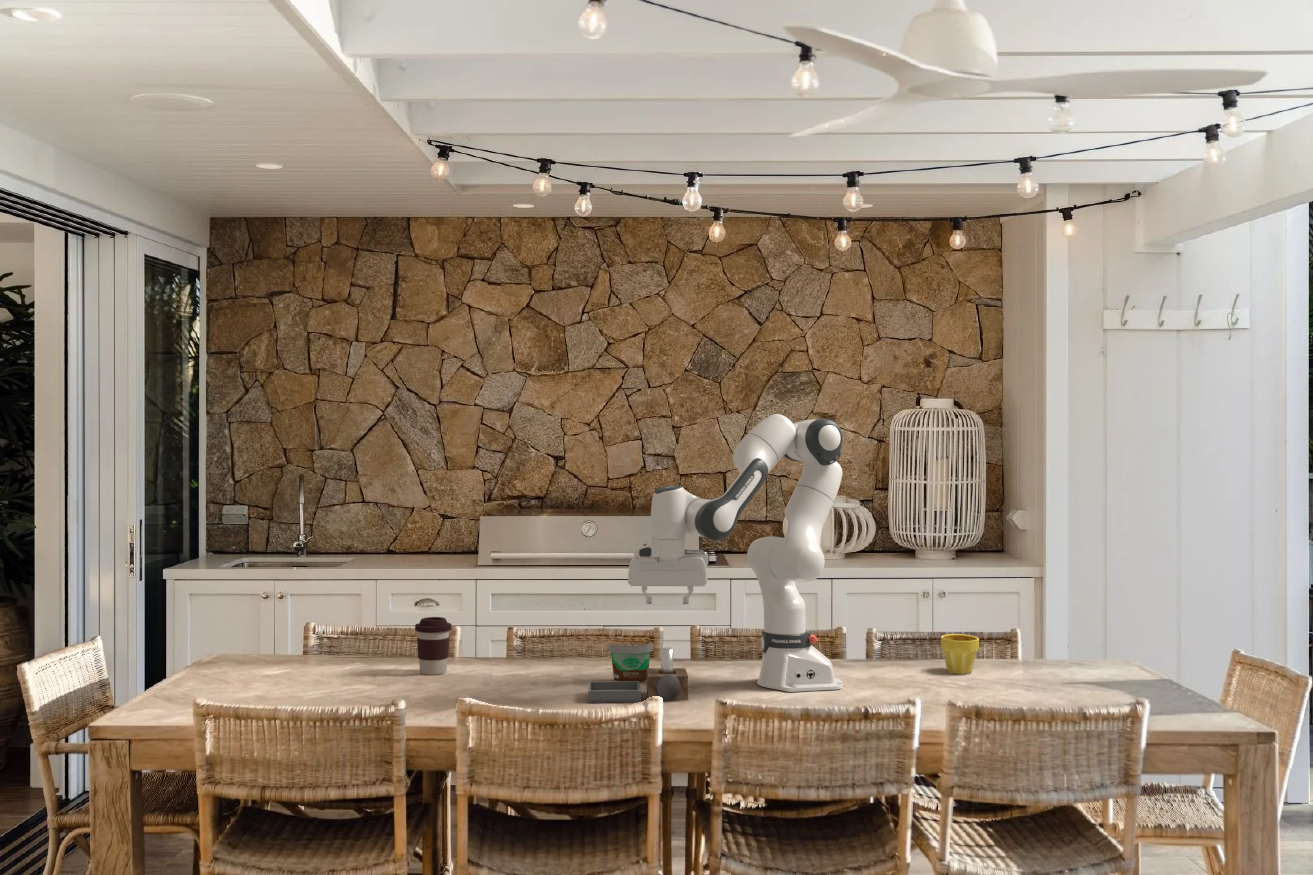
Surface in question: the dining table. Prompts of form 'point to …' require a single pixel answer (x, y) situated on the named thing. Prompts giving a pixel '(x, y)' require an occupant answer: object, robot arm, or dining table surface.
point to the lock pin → (667, 660)
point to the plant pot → (959, 652)
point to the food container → (630, 661)
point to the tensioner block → (667, 684)
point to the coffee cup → (433, 645)
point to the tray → (614, 691)
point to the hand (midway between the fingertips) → (667, 603)
